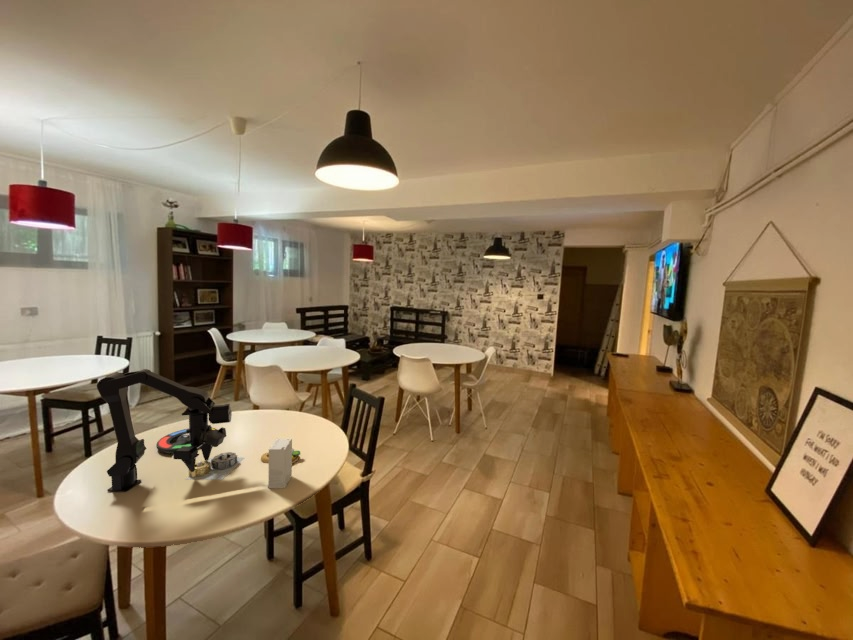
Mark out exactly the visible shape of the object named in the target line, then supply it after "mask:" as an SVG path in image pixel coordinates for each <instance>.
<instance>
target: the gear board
mask: <svg viewBox="0 0 853 640" xmlns="http://www.w3.org/2000/svg"><path fill="white" fill-rule="evenodd" d="M214 457H215V456H212V457H211V458H209V459H208V462H211V459H213V458H214ZM224 459H227V454H222V460H224ZM244 459H245V457H237V463H235V465H234V466H232V467H230V468H227V469H221V470H217V469H213V466H212V467H211V469H210V472H209V473H207V474H205V475H202V476H199V477H192V476H189V475H188V476H187V477H186V478H185V480H194V481H197V480H198V481H200V480H201V481H209V480H210V481H222V480H223V479H225V478H226V477H227V476H228V474H230V473H231V471H233V470H234V469H235V468H236V467H237V466H238V465H239V464H240V463H242V461H244ZM202 461H203V460H199V461H196V462H197V467H201V466H203V463H202Z"/></svg>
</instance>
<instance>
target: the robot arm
mask: <svg viewBox="0 0 853 640" xmlns="http://www.w3.org/2000/svg"><path fill="white" fill-rule="evenodd" d="M138 384H143V385H145V386H147V387H149V388H152V389H155V390H156V391H160V392H162V393H164V394H166V395H169V396H171V397H174V398H175V399H177V400H178V401H179V402H180V403H181V404H182V405H184V406H185V407H187V408H186V409H185V410H184V411H183V412H182V413H181V416H188V428H186V429H187V430H186V433H189V438H190V439H189V440H188V441H187V444H191V446H182V447H181V448H179V449H178V450H176V451H175V452H174V453H173V454H172V456H173V460H181V461H182V462H183V463H184V464H185V466H186V467H187V469H189V470H190V471H191V472H194V471H195V463H196V462H197V461H196V460H197V458H198V456H200V453H199V449H201V453H202V457H203V459H204V461H208V460H209V459H210V456H211V452H212V450H213V448H218V447H219V445H221V444H223V442H224V439H225V438H226V437H227V430H226V427H223V426H221V427H220V428H219V429H217V430H212V428H213V427H212V426H211V425H215V424H225V423H226V424H227V423H231V421H232V413H233V411H232V408H231V404H230V403H225V404H217V405H216V402H215V401H213V400H212V398H211V397H209V396H210V395H209V393H208V391H207V390H205V389H202V388H198V387H195V386H187V385H186V386H185V385H183V384H181V383H179V382H176V381H174V380H171V379H169V378H167V377H164V376H162V375H161V374H159V373H156V372H154V371H151V370H150V369H147V368H143V369H141V370H136V371H135V370H134V371H130V372H129V371H128V372H126V373H121V372H114V373H112V374H111V373H110V374H109V375H107V376H104V377H103V378H101V379H99V381H98V382H97V384H96V389H97V391H98V393H99V395H100V397H101V399H103V400H104V401H105V402H106V403H107V405H108V409H109V414H110V417H111V421H112V425H113V430H114V434H115V437H116V443H117V445H116V449H115V456H114V457H115V463H114V464H112V466H110V467H109V468H108V469H107V470H106V473H107V475H108V477H111V487H109V488H108V489H107V492H121V493H122V492H128V491H129V490H131V489H133V488H134V487H135V486H137V485H138V484H139V483H141V482H142V479H138V468H137V463H139V461H140V460H141V458H143V456H144V455H145V451H146V450H147V447H146V446H145V439H144V438H142V439H138V438H137V436H136V434H135V431H134V426H133V422H132V416H131V413H130V409H129V406H128V402H127V401H128V400H127V395H128V390H129V387H130V386H131V387H132V386H134V385H138ZM209 423H210V424H209ZM199 447H201V448H199ZM197 448H198V449H197Z"/></svg>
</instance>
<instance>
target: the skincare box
mask: <svg viewBox="0 0 853 640" xmlns="http://www.w3.org/2000/svg"><path fill="white" fill-rule="evenodd" d="M292 448H293V438H276V439H275V440H274V441H273V443H272V444H271V446H270V447H269V449H268V452H269V463H268V480H267V481H268V489H286V487H287V485H288V484H289V481H290V480H291V478H292V475H293V474H292V473H293V470H292V469H293V466H292V465H293V464H292Z"/></svg>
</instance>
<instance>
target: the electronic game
mask: <svg viewBox="0 0 853 640" xmlns="http://www.w3.org/2000/svg"><path fill="white" fill-rule="evenodd" d="M187 429H188V428H185V429H180V430H177V431H173V432H171V433H168V434H166V435H165V436H163V437H161V438H160V439H159V440H158V441H157V443H156V444H155V445H156V449H157V451H160V452H163V453H167V454H172V455H173V453H174V452H175V451H176V450H178V449H179V448H181V447H182V446H191V444H187V441H188V440H189V439H190V438H189V433H186V430H187ZM212 430H218V429H217V428H216V427H215V428H214V427H212ZM173 442H174V443H173ZM197 449H198V450H199V449H201V447H199V448H197Z"/></svg>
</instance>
